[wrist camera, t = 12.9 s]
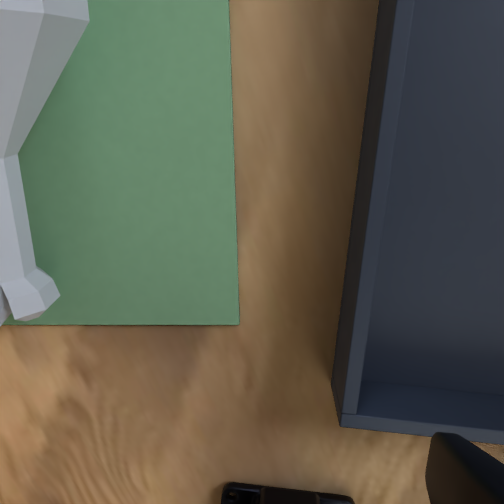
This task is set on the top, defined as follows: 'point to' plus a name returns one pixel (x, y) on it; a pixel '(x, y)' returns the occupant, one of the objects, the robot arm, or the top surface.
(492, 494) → the robot arm
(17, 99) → the chicken leg
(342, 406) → the roasting tin
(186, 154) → the napkin
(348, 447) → the top surface
